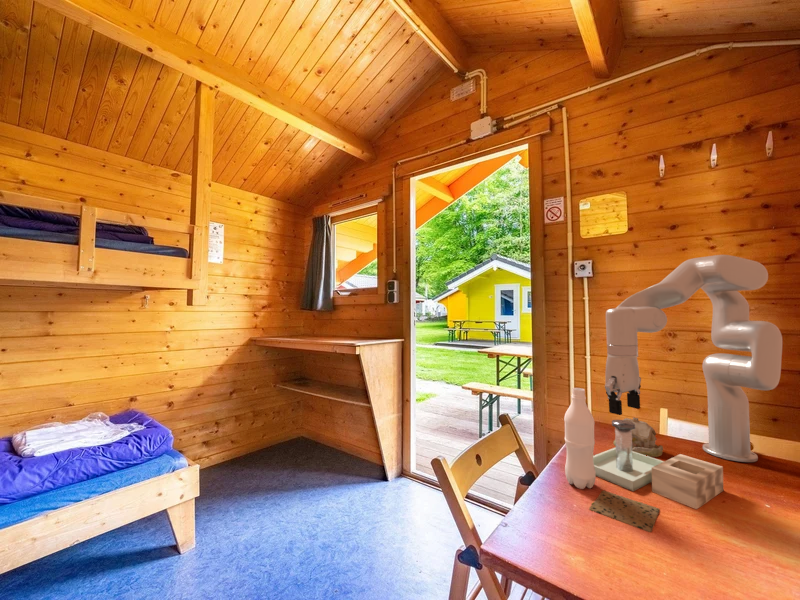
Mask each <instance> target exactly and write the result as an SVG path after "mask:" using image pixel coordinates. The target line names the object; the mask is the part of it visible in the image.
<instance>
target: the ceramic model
mask: <svg viewBox="0 0 800 600" xmlns="http://www.w3.org/2000/svg"><path fill="white" fill-rule="evenodd" d="M623 420H625V421H630V422H632V423H634V424H635V429H632V451H634V452H637V453H640V454H643V455H647V456H649V457H652V458H655V457H656V458H658V457H660V456H662V455H663V451H664V446H663V445H661V444H660V445H657V444H656V441H657V437H656V436H657V432H656V431H655V429H654V428H653V426H651V425H650V424H648V422H645V421H642V420H639V418H638V417H632V418H627V417H626V418H624V419H623ZM613 445H614V447H616V440H615V439H614V440H613Z"/></svg>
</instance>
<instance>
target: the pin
mask: <svg viewBox="0 0 800 600" xmlns="http://www.w3.org/2000/svg"><path fill="white" fill-rule="evenodd" d="M611 426H612V427H613V428H614V434H615V437H614V440H616V446H615V447H616V468H617V469H618V470H621V471H624V472H632V471H633V456H632V429H635V424H634V423H632V422H630V421H625V420H624V419H613V420H611Z"/></svg>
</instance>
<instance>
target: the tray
mask: <svg viewBox="0 0 800 600" xmlns="http://www.w3.org/2000/svg"><path fill="white" fill-rule="evenodd" d="M632 456H633V471H632V472H624V471H621V470H618V469H617V468H616V446H614V447H612V448H610V449H608V450H605V451H602V452H600V453H597V454H595V455H594V454H593V462H594V467H595V472H596V477H598V478H599V479H602V480H605V481H606V482H610V483H612V484H614V485H617V486H619V487H621V488H624V489H627V490H628V491H631V492H634V491H637V490H639V489H641V488H642V487H643V488H644V486H647V485H648V484H650V483H652V467H654V466H656V465H658V464H660V463H662V462H664V461H665V460H661V459H658V458H655V457H652V456H646V455H643V454H640V453H637V452H634V451H632Z"/></svg>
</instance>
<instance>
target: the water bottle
mask: <svg viewBox="0 0 800 600" xmlns="http://www.w3.org/2000/svg"><path fill="white" fill-rule="evenodd" d="M571 392H572V393H571V403H570V405H569V406H568V408H567V410H566V411H565V413H564V418H563V421H564V438H563V439H564V441H565V442H564V443H565V448H566V458H565V459H566V460H565V466H564V474H565V477H566V480H567V483H569V484H570V485H574V486H575V487H576V488H577V489H581V490H584V489H585V488H588V489H591V488H593V486H594V485H595V482H596V477H597V476H596V472H595V467H594V462H593V456H594V449H595V444H596V443H595V418H594V417H593V414H592V412H591V411H590V409H589V407H588V405H587V403H586V399H587V397H586V390H585V388H582V387H581V388H580V387H572V389H571Z"/></svg>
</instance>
